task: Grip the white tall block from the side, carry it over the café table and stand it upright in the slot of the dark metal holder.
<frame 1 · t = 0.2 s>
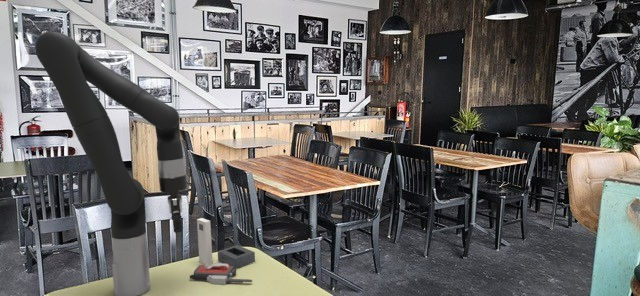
hand: (177, 227, 129), 18 cm above the table, tool pointing down, fingers open, 8 cm apart
holder: (236, 261, 148), on the table
white tall block: (205, 263, 147), on the table
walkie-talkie: (223, 280, 135), on the table
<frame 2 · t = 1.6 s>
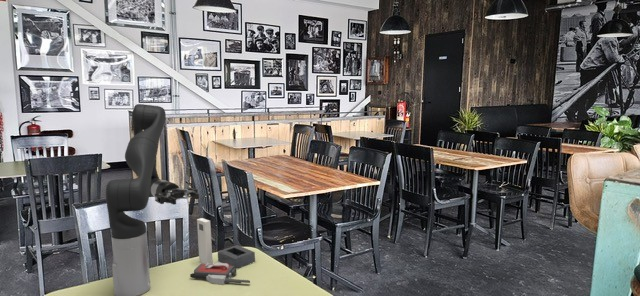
hand: (186, 199, 152), 20 cm above the table, tool horizontal, fingers open, 8 cm apart
nothing on the table moved.
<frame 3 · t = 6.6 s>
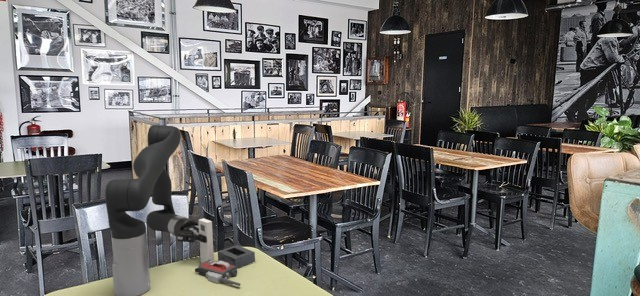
hand: (209, 238, 144), 9 cm above the table, tool horizontal, fingers closed on white tall block, 1 cm apart
white tall block: (207, 263, 146), on the table, touching gripper
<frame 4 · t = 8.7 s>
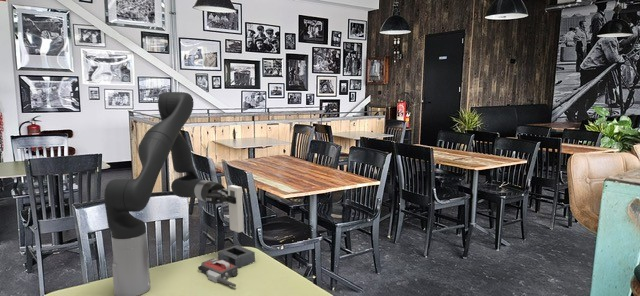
hand: (238, 200, 143), 22 cm above the table, tool horizontal, fingers closed on white tall block
white tall block: (236, 230, 146), point 11 cm above the table, touching gripper
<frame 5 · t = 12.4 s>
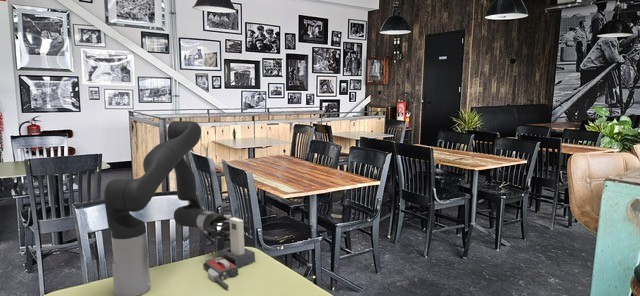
hand: (238, 233, 145), 10 cm above the table, tool horizontal, fingers open, 8 cm apart
white tall block: (238, 262, 147), resting in holder
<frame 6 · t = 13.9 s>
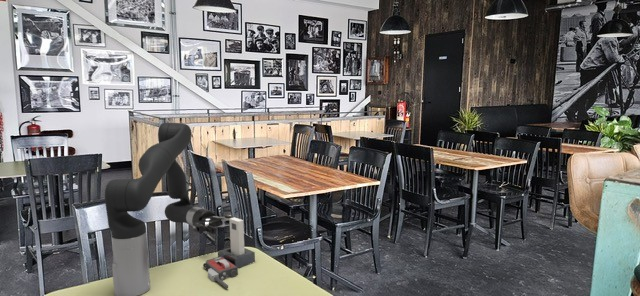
hand: (225, 228, 150), 11 cm above the table, tool horizontal, fingers open, 8 cm apart
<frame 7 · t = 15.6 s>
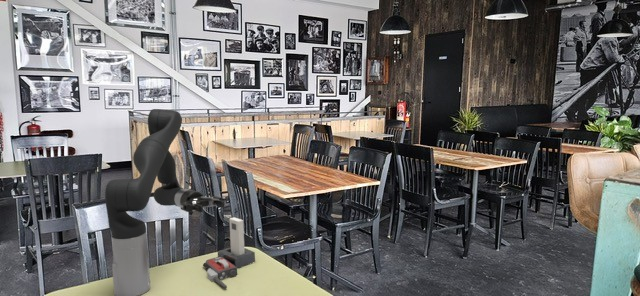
hand: (212, 206, 151), 18 cm above the table, tool horizontal, fingers open, 8 cm apart
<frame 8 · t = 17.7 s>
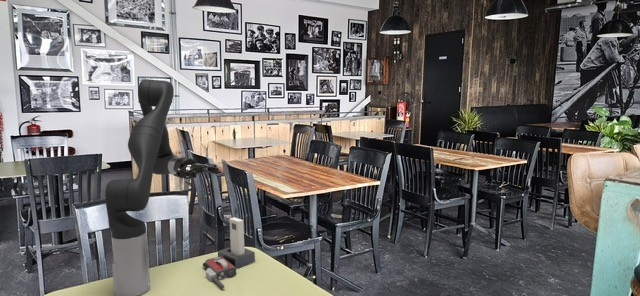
hand: (206, 172, 147), 30 cm above the table, tool horizontal, fingers open, 8 cm apart
at the end: white tall block 0.9 cm off-centre on the holder, point 0.0 cm above the holder's base; white tall block tilted 0°; the gripper is holding nothing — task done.
